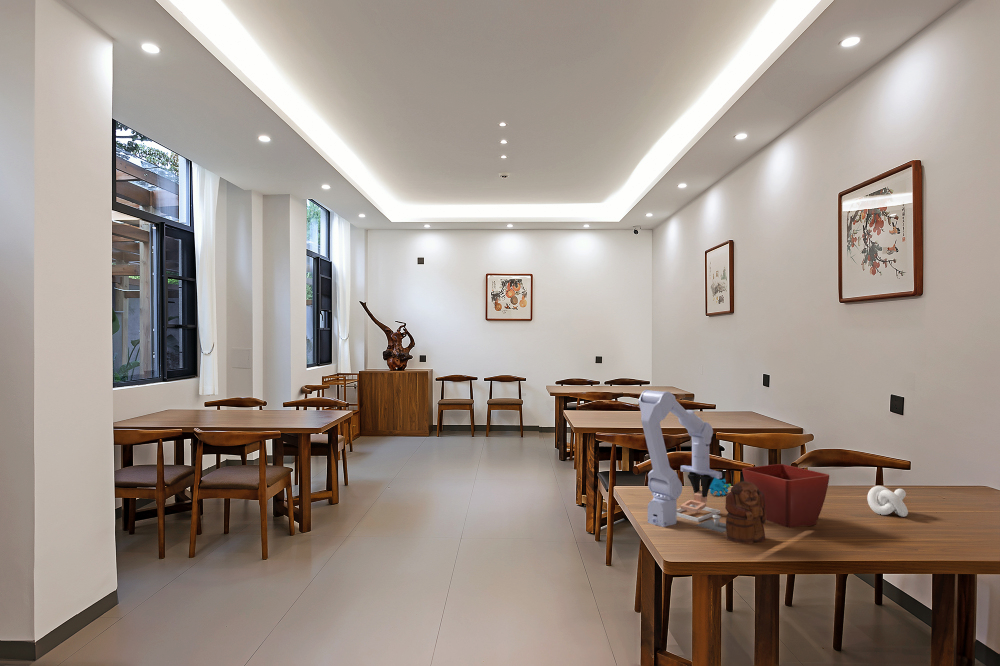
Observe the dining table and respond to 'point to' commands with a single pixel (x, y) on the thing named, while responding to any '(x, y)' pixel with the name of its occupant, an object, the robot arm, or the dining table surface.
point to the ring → (695, 503)
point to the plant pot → (789, 493)
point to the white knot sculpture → (887, 501)
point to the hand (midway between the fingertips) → (700, 495)
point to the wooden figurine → (745, 514)
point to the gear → (719, 486)
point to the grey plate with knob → (714, 524)
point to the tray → (714, 512)
